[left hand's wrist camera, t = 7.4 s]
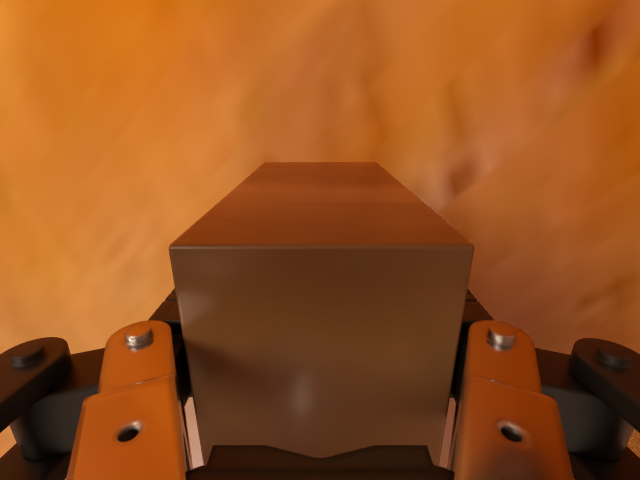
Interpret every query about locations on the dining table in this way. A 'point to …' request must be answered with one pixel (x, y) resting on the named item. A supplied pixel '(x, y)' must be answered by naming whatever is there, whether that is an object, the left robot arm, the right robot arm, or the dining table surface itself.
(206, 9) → the dining table surface
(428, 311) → the box
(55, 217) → the dining table surface
